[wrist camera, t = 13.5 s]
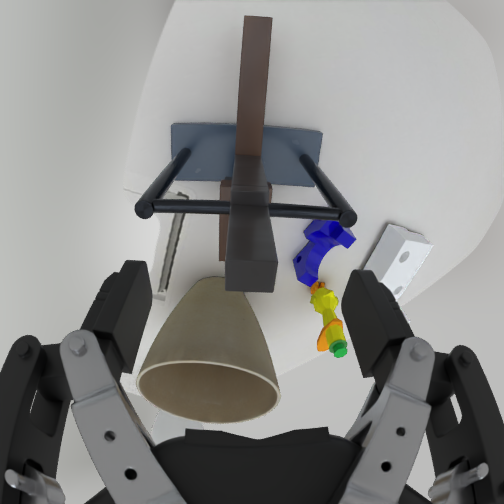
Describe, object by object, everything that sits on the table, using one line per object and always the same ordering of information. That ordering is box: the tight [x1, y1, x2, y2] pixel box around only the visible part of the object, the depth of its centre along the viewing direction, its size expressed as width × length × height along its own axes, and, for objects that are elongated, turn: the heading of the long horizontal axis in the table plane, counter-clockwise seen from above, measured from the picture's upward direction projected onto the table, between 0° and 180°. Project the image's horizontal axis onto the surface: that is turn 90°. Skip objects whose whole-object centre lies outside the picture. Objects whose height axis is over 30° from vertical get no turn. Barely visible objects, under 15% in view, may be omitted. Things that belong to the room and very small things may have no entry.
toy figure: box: [310, 282, 347, 358], centre depth 33 cm, size 7×4×12 cm, turn 169°
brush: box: [219, 16, 278, 293], centre depth 16 cm, size 4×20×15 cm, turn 176°
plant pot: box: [136, 277, 281, 424], centre depth 32 cm, size 15×15×16 cm
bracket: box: [363, 224, 433, 324], centre depth 34 cm, size 13×7×8 cm, turn 164°
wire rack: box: [135, 123, 357, 228], centre depth 22 cm, size 6×15×15 cm, turn 86°
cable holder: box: [293, 219, 356, 287], centre depth 32 cm, size 8×4×4 cm, turn 146°
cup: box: [150, 409, 204, 445], centre depth 43 cm, size 10×10×22 cm
